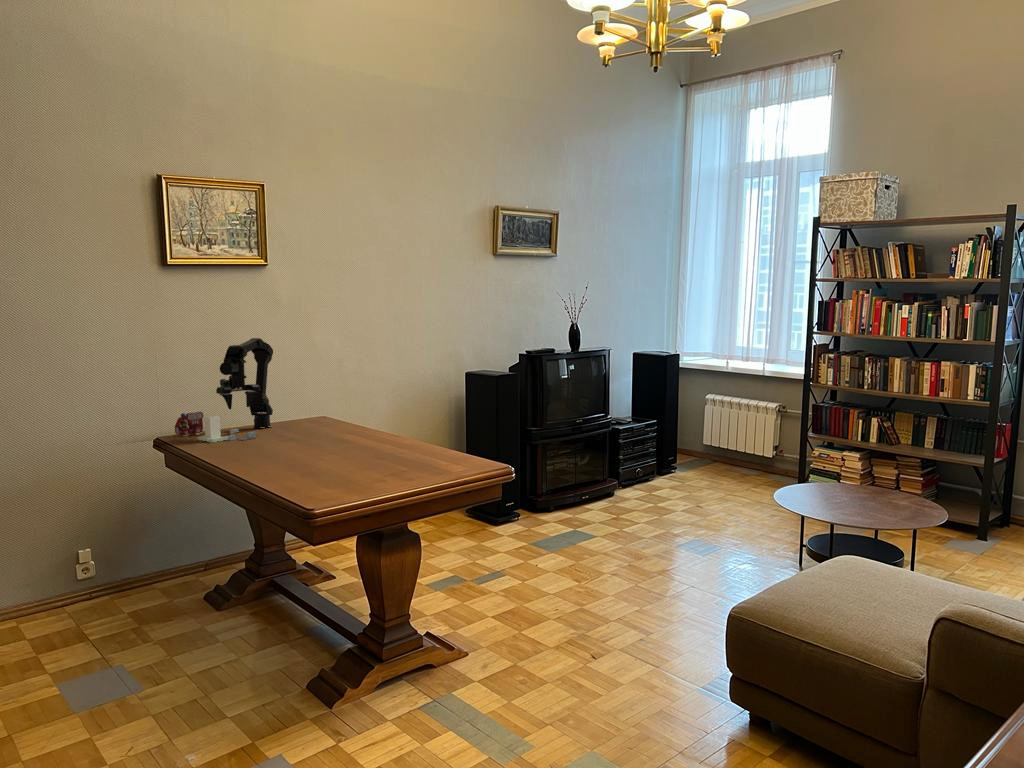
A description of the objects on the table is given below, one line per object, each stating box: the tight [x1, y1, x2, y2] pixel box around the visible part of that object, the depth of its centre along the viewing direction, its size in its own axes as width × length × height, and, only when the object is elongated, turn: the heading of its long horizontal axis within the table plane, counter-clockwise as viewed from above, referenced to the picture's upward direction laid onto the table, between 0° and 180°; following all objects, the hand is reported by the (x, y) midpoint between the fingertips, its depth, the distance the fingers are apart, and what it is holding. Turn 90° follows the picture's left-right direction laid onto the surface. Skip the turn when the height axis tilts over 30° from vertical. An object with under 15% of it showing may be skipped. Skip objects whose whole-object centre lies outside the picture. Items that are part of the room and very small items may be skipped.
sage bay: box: [196, 435, 230, 444], centre depth 328 cm, size 9×11×2 cm
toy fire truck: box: [174, 411, 204, 436], centre depth 342 cm, size 7×12×10 cm, turn 129°
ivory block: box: [203, 415, 222, 439], centre depth 327 cm, size 5×5×10 cm
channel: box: [227, 428, 257, 442], centre depth 335 cm, size 13×25×2 cm, turn 52°
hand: (239, 408), depth 337 cm, fingers open, 9 cm apart
